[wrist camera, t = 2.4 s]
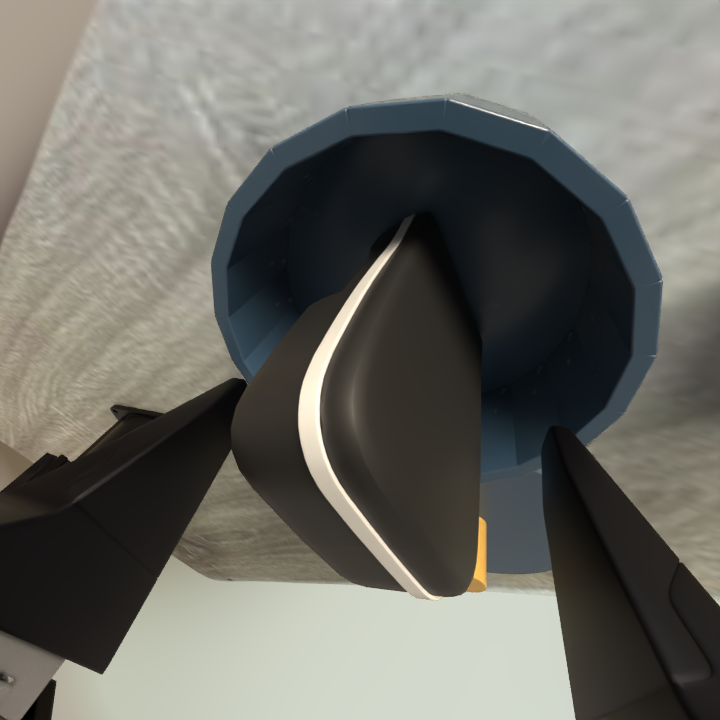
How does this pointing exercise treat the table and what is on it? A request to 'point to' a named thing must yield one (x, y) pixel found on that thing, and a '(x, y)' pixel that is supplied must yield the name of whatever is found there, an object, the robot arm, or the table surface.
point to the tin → (457, 256)
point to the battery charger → (376, 422)
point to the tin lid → (511, 529)
